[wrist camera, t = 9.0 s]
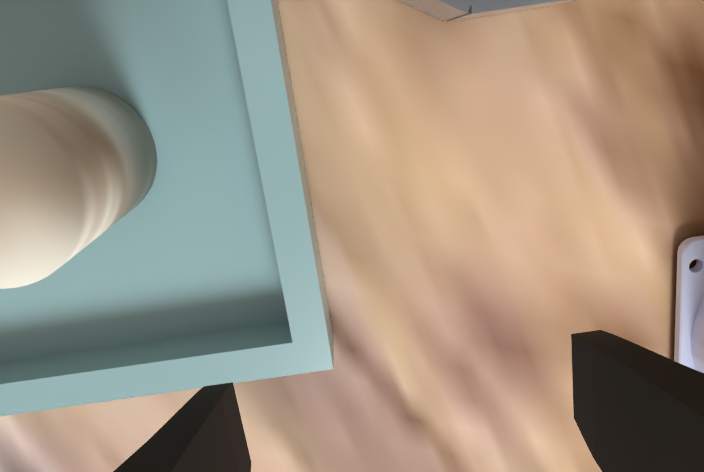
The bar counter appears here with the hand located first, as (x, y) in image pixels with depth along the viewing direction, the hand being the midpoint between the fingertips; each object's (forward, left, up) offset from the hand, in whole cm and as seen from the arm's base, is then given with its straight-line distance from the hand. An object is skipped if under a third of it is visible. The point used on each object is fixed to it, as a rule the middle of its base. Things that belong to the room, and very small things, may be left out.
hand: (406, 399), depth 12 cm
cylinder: (+5, +9, -9) cm, 13 cm away
